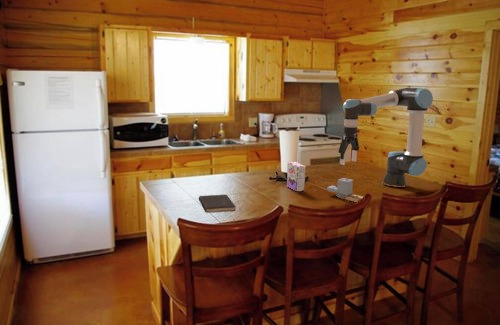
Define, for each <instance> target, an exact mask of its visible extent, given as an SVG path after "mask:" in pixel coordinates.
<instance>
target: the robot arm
mask: <svg viewBox="0 0 500 325" xmlns="http://www.w3.org/2000/svg"><path fill="white" fill-rule="evenodd" d="M433 102H434V97H433V94H432V92H431V90H429V89H428V88H423V87H403V88H399V89H396V90H391V91H389V92H388V93H385V94H380V95H375V96H371V97H366V98H361V99H357V98H352V99H351V98H348V99H346V100H345V101H344V103H343V105H342V110H343V112H344V121H343V134H345V135H342V136H341V141H340V146H339V148H338V151H337V152H338V153H339V154H340V158H339V164H340V165H342V166H345V165H346V151H347V149H348V147H349V145H351V148H352V150H351V162H355V163H356V162H357V156H358V154H357V152H358V151H359V150H360V145H359V139H358V135H359V134H358V124H359V117H364V116H365V117H366V116H367V117H371V116H374V115H376V113H377V111H378V109H381V108H385V107H390V106H391V107H396V106H398V107H399V106H401V107H402V106H403V107H406V110H407V111H408V114H409V115H408V116H409V117H408V126H407V128H408V129H407V138H406V139H407V141H406V151H395V150H394V151H389V152H388V155H387V160H386V161H387V162H386V173H385V176H384V177H383V180H382V184H383V183H386V184H389V185H396V186H404V185H406V184H407V183H408V182H407V178H406V174H407V175H409V176H414V177H420V176H421V175H423V173H425V171H426V169H427V167H428V162H427V160H426V159H425V158H424V153H423V152H422V145H423V135H424V133H423V132H424V122H425V113H427V112H428V109H429V108H430V107H431V105H432V104H433ZM406 186H407V185H406Z"/></svg>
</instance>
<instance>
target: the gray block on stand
mask: <svg viewBox="0 0 500 325" xmlns="http://www.w3.org/2000/svg"><path fill="white" fill-rule="evenodd" d="M346 179H347V178H346ZM346 179H344V181H347V180H346ZM353 194H354V193H353V192H352V193H351V194H348V195H344V194H339V193H336V192H335V197H336V196H337V197H341V198H346V197H348V196H351V195H353Z"/></svg>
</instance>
